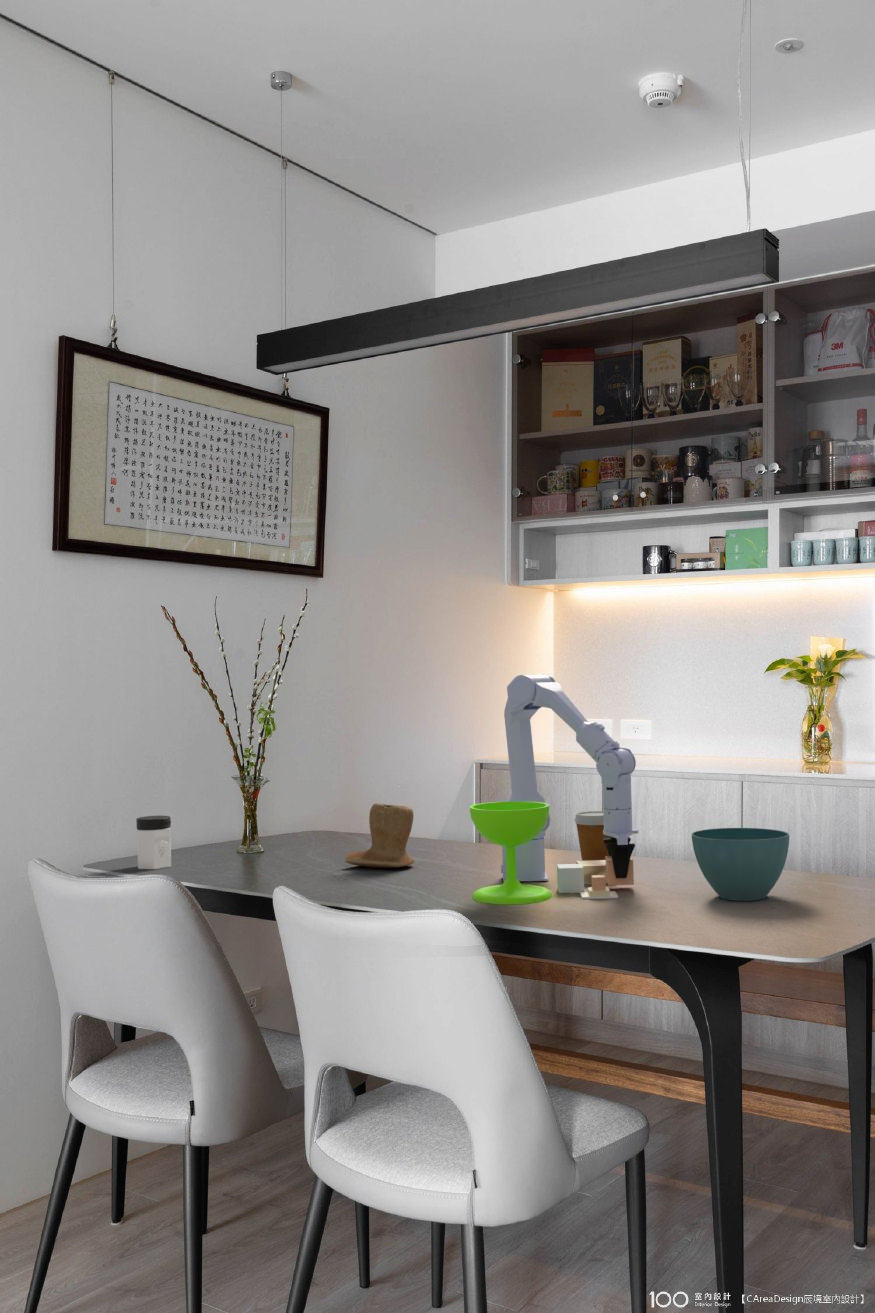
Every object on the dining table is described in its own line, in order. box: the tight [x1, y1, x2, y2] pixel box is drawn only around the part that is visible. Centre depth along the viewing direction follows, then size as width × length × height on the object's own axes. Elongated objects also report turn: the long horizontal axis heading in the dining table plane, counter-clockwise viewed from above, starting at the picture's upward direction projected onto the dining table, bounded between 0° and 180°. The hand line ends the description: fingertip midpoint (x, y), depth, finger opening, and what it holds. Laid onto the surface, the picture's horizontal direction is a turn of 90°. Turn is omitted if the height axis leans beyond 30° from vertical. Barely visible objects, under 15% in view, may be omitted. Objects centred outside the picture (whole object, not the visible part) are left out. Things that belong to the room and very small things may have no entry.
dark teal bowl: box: [691, 827, 790, 902], centre depth 220 cm, size 18×18×12 cm
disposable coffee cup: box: [573, 810, 610, 861], centre depth 260 cm, size 10×10×12 cm
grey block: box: [556, 863, 585, 894], centre depth 232 cm, size 5×5×5 cm
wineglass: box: [469, 801, 553, 905], centre depth 228 cm, size 16×16×18 cm
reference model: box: [579, 875, 619, 900], centre depth 225 cm, size 7×5×4 cm
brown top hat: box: [344, 802, 415, 869], centre depth 269 cm, size 15×12×15 cm
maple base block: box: [575, 860, 608, 885], centre depth 242 cm, size 7×7×4 cm
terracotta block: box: [605, 856, 635, 886], centre depth 232 cm, size 5×5×5 cm
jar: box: [135, 815, 172, 870], centre depth 279 cm, size 9×8×12 cm
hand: (619, 875), depth 232 cm, fingers closed on terracotta block, 5 cm apart
